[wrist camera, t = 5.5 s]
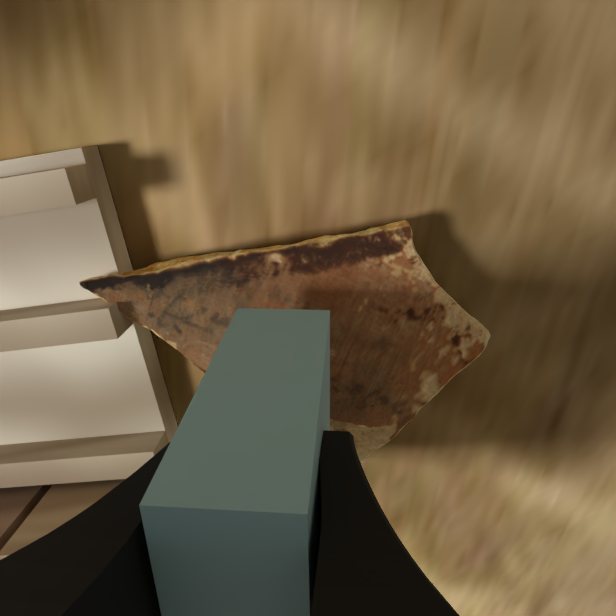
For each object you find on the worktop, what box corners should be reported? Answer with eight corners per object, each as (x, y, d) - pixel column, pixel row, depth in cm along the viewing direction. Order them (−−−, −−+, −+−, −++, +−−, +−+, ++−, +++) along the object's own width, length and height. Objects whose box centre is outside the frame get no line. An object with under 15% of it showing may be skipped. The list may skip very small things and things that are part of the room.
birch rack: (-158, 187, 17) (-227, 199, 15) (97, 145, 16) (59, 151, 14) (5, 538, 22) (-30, 581, 20) (206, 526, 21) (190, 571, 19)
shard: (98, 270, 17) (72, 287, 16) (231, 71, 15) (216, 65, 13) (350, 452, 19) (351, 484, 17) (503, 299, 17) (522, 319, 15)
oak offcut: (65, 469, 19) (-4, 555, 16) (161, 462, 19) (114, 549, 15) (81, 511, 20) (19, 603, 16) (174, 505, 20) (132, 599, 16)
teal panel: (252, 503, 17) (191, 762, 11) (237, 308, 14) (139, 504, 8) (329, 507, 17) (313, 775, 10) (330, 310, 14) (307, 514, 7)
